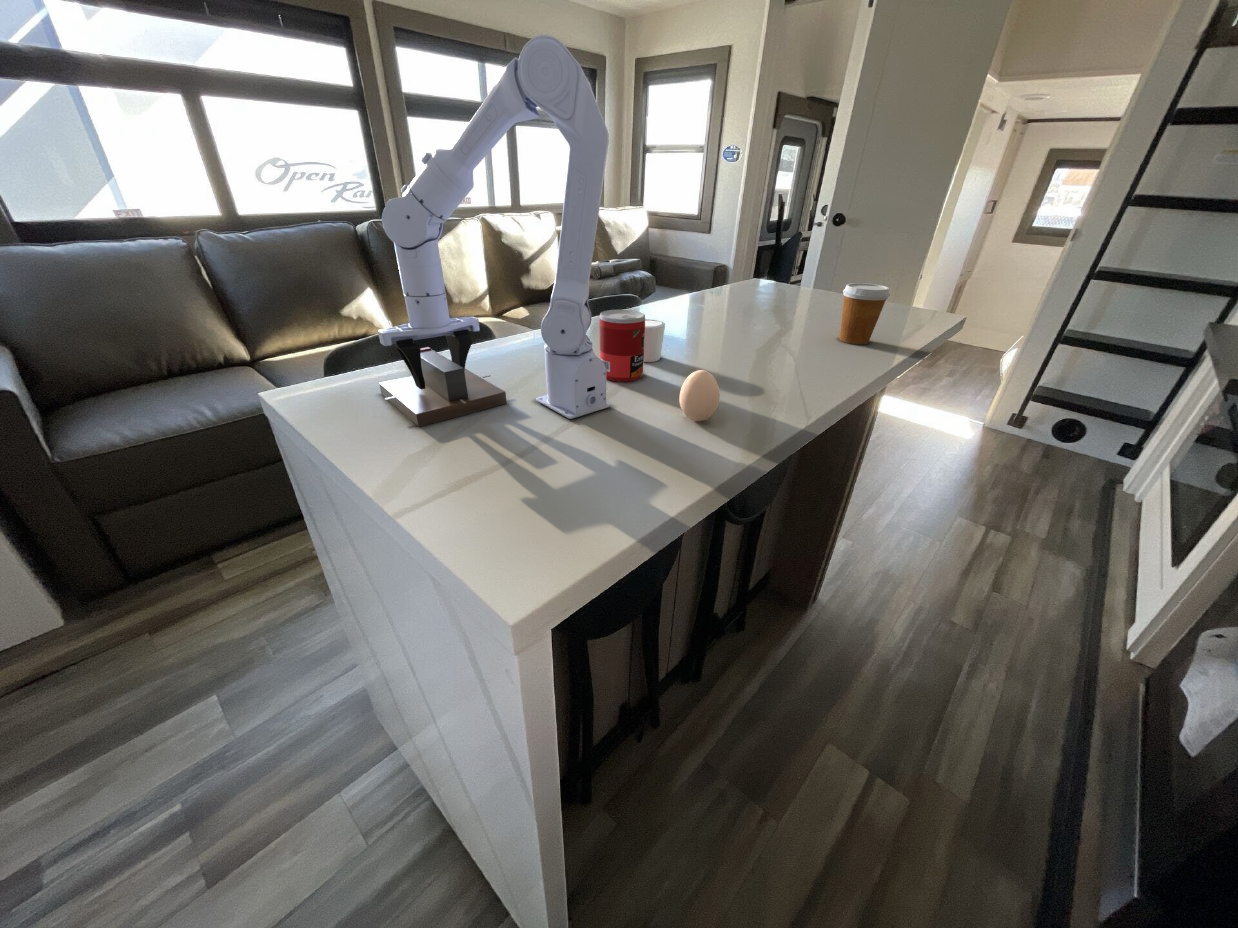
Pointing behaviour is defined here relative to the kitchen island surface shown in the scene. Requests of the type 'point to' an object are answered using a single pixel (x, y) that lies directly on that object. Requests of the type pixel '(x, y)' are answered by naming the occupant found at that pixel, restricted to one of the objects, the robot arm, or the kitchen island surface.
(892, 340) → the kitchen island surface
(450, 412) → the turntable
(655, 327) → the white cup
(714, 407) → the egg
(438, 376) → the gray steel bar
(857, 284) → the disposable coffee cup
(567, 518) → the kitchen island surface
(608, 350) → the canned food
